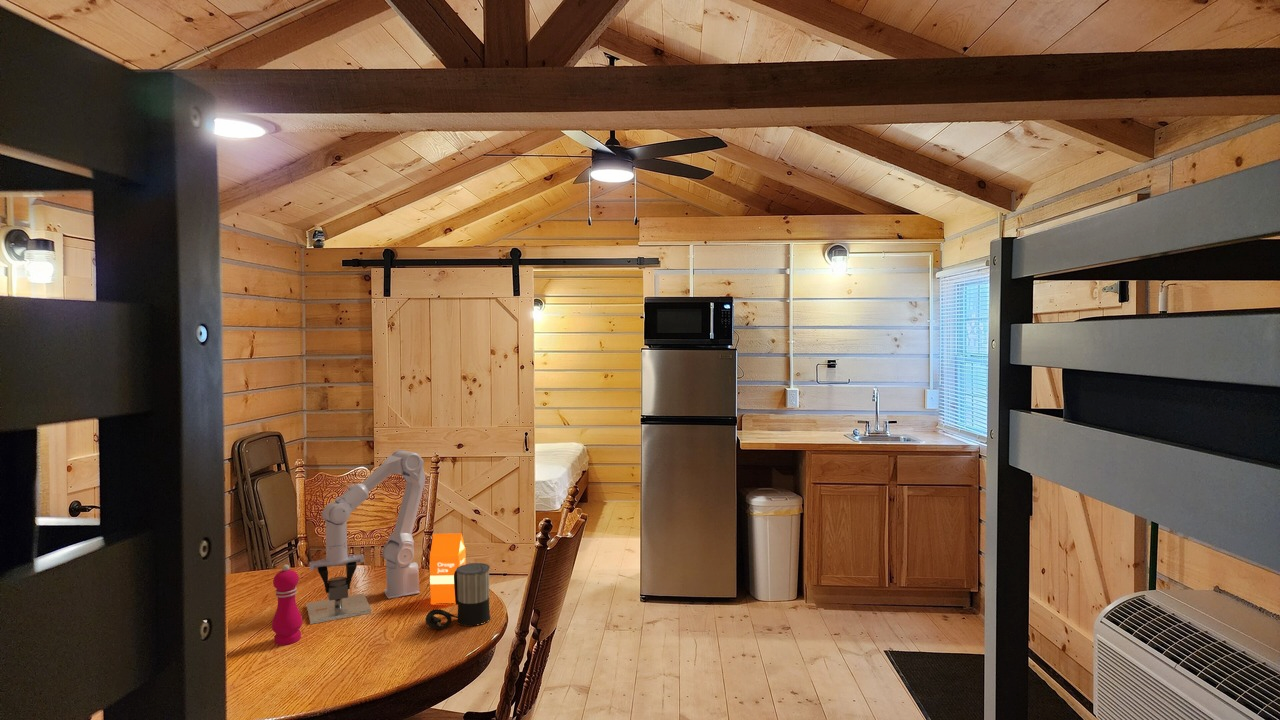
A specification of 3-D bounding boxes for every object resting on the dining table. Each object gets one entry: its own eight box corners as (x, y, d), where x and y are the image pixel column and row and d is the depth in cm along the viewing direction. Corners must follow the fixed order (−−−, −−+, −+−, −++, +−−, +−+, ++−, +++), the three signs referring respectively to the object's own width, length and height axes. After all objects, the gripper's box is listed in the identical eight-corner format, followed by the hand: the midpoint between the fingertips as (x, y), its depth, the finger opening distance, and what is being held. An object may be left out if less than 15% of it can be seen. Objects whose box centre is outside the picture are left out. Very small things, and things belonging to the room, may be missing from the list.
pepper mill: (290, 647, 181) (288, 569, 180) (265, 645, 182) (263, 568, 182) (309, 635, 188) (306, 560, 188) (285, 634, 189) (283, 559, 189)
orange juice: (459, 604, 209) (458, 536, 209) (430, 604, 209) (428, 537, 209) (466, 594, 217) (465, 530, 217) (438, 595, 217) (436, 530, 217)
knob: (346, 592, 210) (345, 575, 210) (348, 597, 205) (347, 579, 205) (327, 595, 207) (327, 578, 207) (329, 600, 203) (329, 582, 203)
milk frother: (498, 618, 198) (496, 565, 197) (456, 638, 184) (455, 581, 184) (461, 609, 205) (460, 558, 205) (418, 628, 192) (417, 573, 191)
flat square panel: (363, 596, 218) (363, 585, 217) (371, 612, 204) (371, 600, 203) (306, 606, 210) (306, 594, 210) (310, 624, 196) (310, 611, 196)
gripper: (361, 537, 213) (362, 582, 214) (308, 544, 206) (309, 590, 207) (364, 542, 207) (365, 588, 207) (310, 550, 200) (311, 597, 200)
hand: (337, 590), depth 207 cm, fingers closed on knob, 5 cm apart
